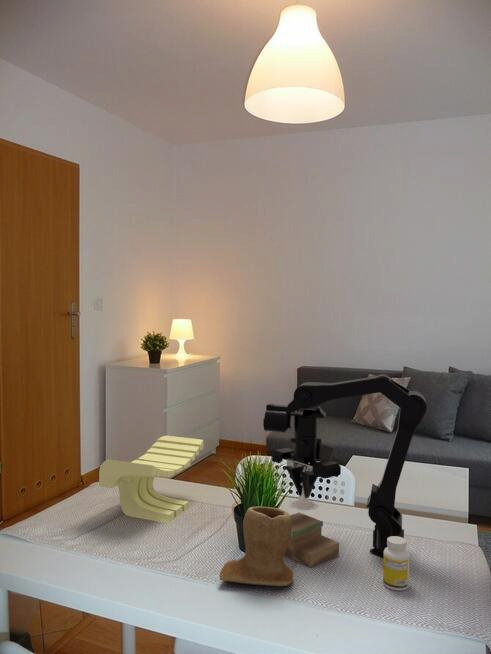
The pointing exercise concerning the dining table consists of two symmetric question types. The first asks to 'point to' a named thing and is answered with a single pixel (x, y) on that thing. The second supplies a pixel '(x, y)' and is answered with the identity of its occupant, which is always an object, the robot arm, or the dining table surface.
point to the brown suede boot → (262, 549)
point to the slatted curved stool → (150, 478)
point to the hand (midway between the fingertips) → (304, 496)
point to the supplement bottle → (396, 564)
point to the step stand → (309, 541)
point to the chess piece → (303, 500)
